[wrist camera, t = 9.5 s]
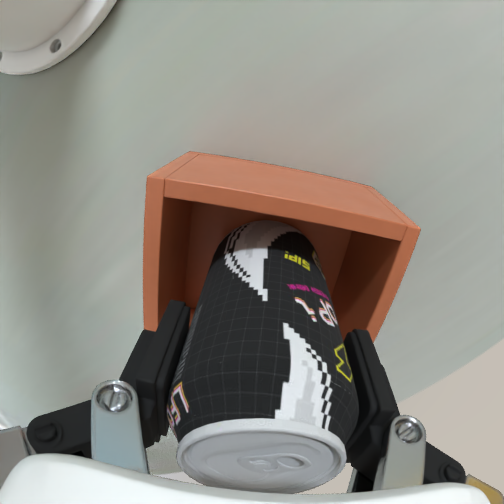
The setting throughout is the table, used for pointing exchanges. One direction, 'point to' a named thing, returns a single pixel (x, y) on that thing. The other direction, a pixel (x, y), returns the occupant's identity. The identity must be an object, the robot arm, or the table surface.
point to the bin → (274, 209)
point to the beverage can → (263, 369)
